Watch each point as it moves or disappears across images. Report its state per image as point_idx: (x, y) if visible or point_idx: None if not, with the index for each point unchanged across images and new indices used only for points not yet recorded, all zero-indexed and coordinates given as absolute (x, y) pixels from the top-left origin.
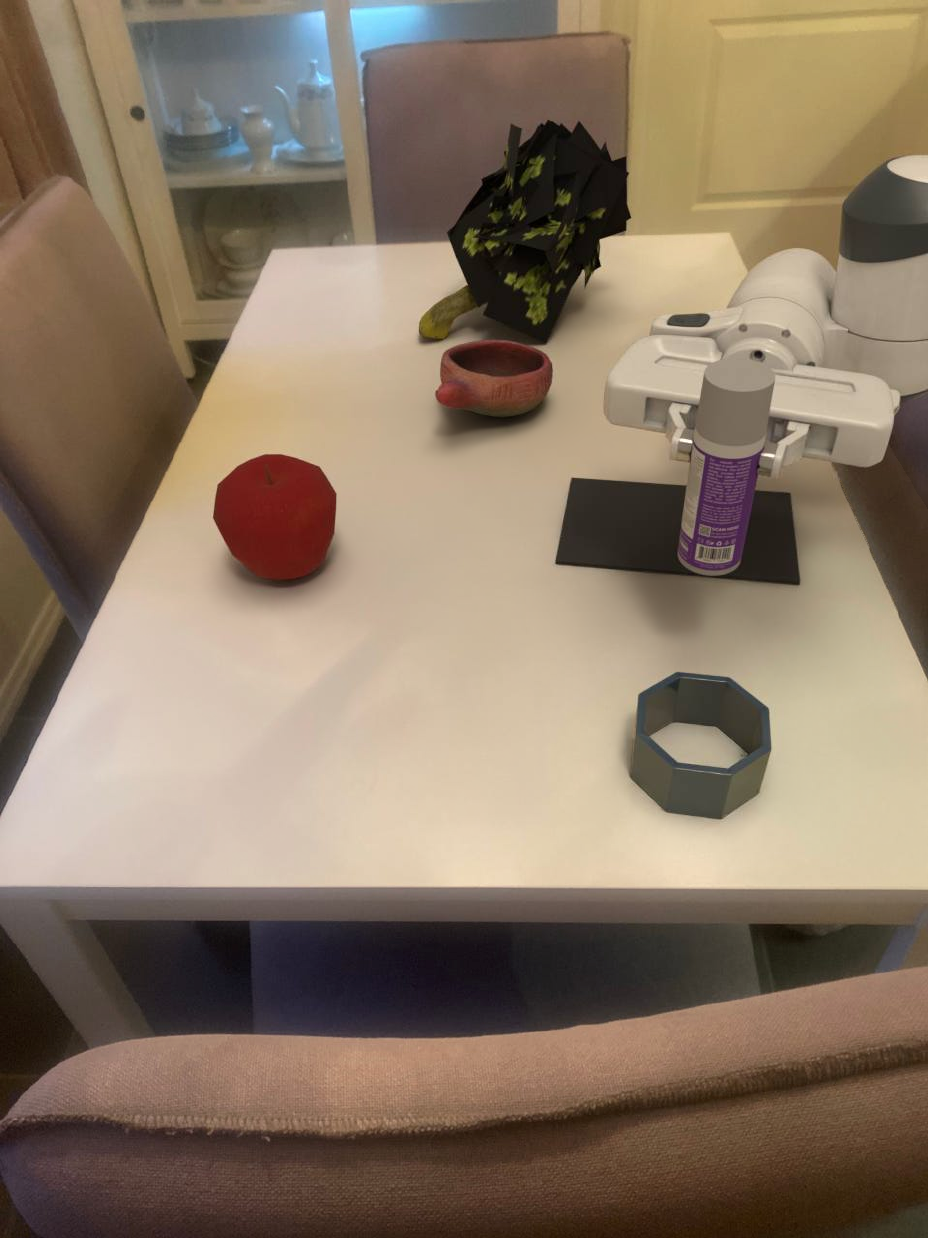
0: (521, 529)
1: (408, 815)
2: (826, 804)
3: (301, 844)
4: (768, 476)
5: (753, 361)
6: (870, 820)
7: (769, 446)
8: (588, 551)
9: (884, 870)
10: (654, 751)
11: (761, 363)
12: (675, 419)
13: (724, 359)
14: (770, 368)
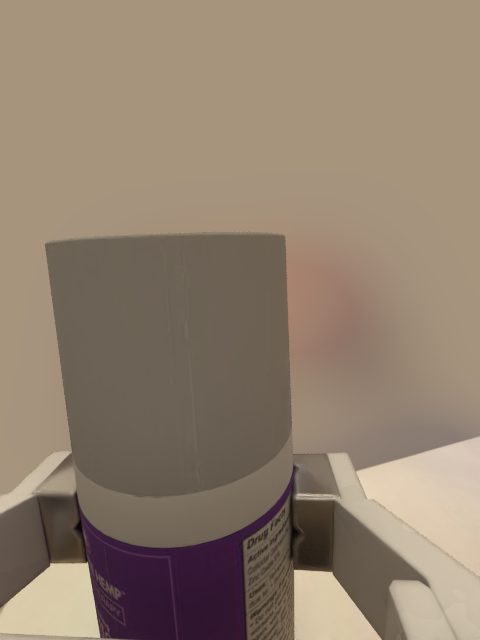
0: None
1: (401, 500)
2: (78, 617)
3: (436, 468)
4: None
5: (99, 238)
6: (41, 611)
7: (69, 476)
8: None
9: (57, 563)
10: None
11: (69, 239)
12: (402, 531)
13: (230, 234)
14: (47, 242)
